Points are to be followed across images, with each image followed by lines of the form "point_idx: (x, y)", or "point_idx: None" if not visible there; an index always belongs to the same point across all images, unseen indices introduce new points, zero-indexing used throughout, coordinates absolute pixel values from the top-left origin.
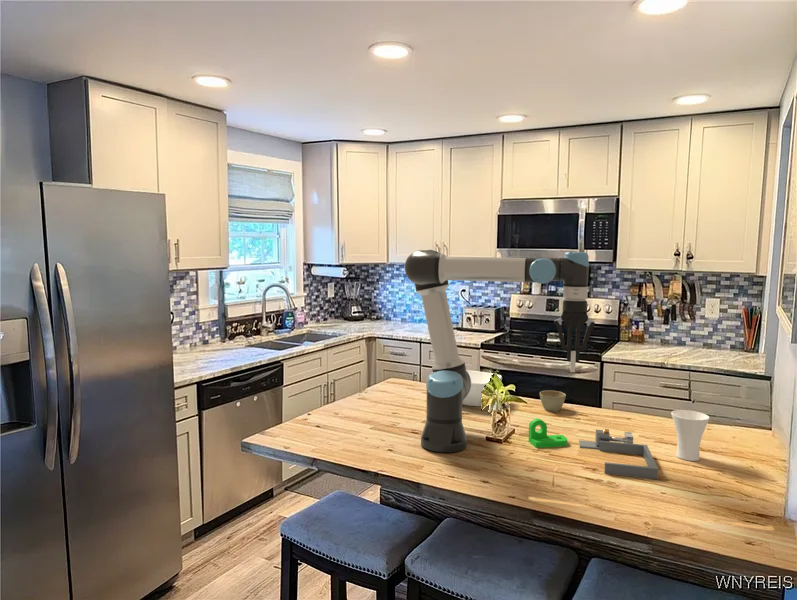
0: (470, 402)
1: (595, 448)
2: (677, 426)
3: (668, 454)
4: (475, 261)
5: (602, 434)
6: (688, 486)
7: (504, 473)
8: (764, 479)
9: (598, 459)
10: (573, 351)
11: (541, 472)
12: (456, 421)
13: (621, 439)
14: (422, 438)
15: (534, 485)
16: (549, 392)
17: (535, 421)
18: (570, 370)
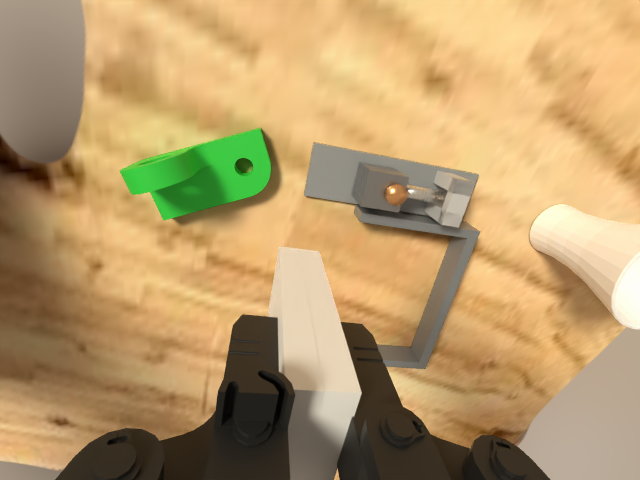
0: None
1: (346, 202)
2: (590, 277)
3: (520, 215)
4: None
5: (377, 208)
6: (455, 370)
7: (96, 382)
8: (612, 319)
9: (331, 273)
10: (320, 422)
11: (182, 363)
12: None
13: (429, 201)
14: None
15: (166, 417)
16: None
17: (138, 192)
18: (269, 315)
